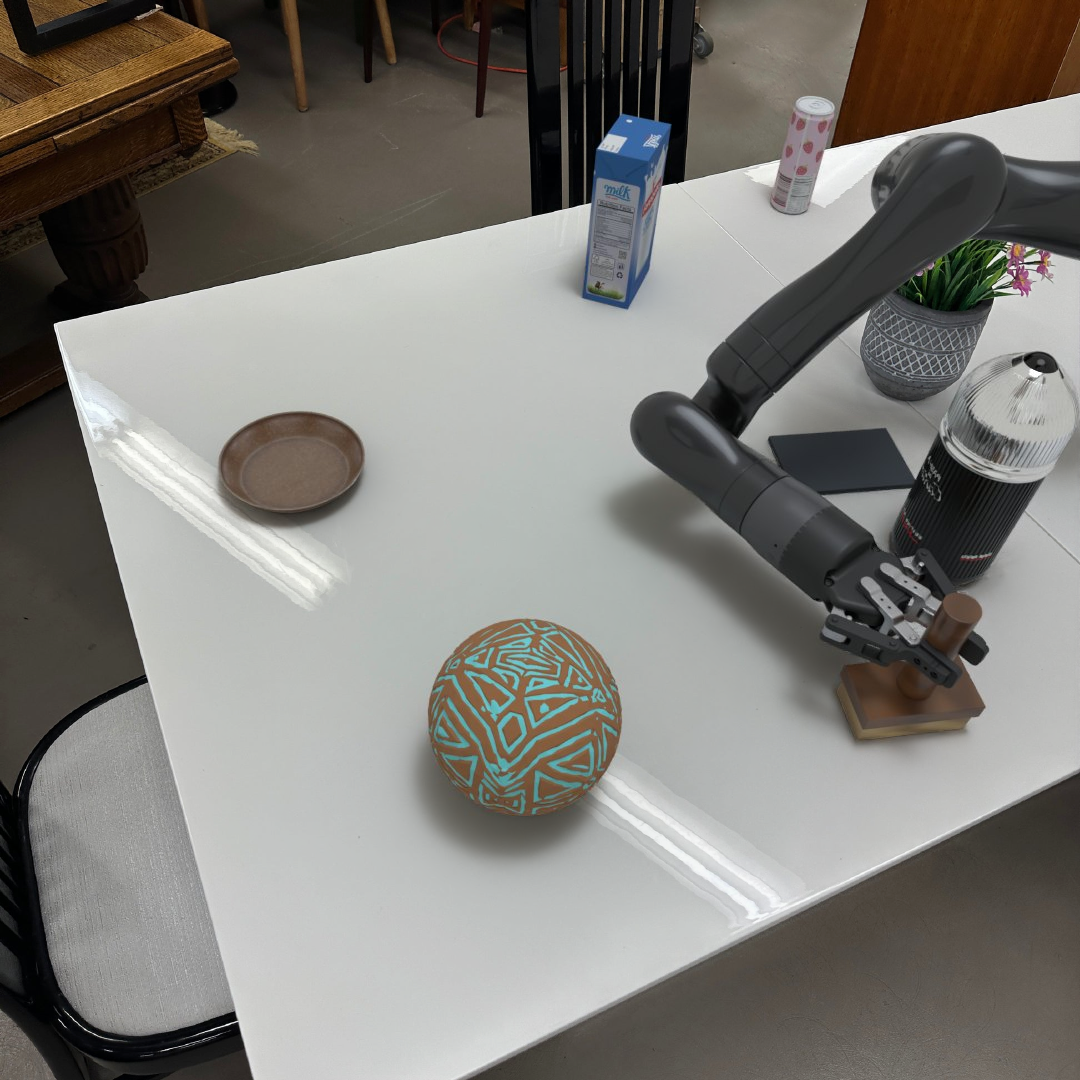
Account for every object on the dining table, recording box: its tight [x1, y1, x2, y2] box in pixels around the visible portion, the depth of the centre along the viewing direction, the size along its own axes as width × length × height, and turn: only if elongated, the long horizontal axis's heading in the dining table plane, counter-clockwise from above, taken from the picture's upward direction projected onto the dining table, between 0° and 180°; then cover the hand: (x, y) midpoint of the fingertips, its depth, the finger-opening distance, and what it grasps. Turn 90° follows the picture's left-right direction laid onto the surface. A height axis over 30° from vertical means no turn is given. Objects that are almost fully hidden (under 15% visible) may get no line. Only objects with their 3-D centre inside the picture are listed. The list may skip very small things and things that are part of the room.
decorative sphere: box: [427, 618, 623, 817], centre depth 75 cm, size 15×15×15 cm
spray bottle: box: [890, 350, 1080, 586], centre depth 89 cm, size 10×10×25 cm
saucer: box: [217, 410, 366, 514], centre depth 100 cm, size 15×15×3 cm
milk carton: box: [582, 113, 672, 310], centre depth 120 cm, size 10×6×20 cm, turn 160°
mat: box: [767, 427, 916, 496], centre depth 106 cm, size 14×9×1 cm, turn 99°
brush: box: [836, 592, 987, 742], centre depth 80 cm, size 11×6×15 cm, turn 99°
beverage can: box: [770, 95, 836, 215], centre depth 137 cm, size 6×6×15 cm
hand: (969, 668), depth 77 cm, fingers closed on brush, 3 cm apart
